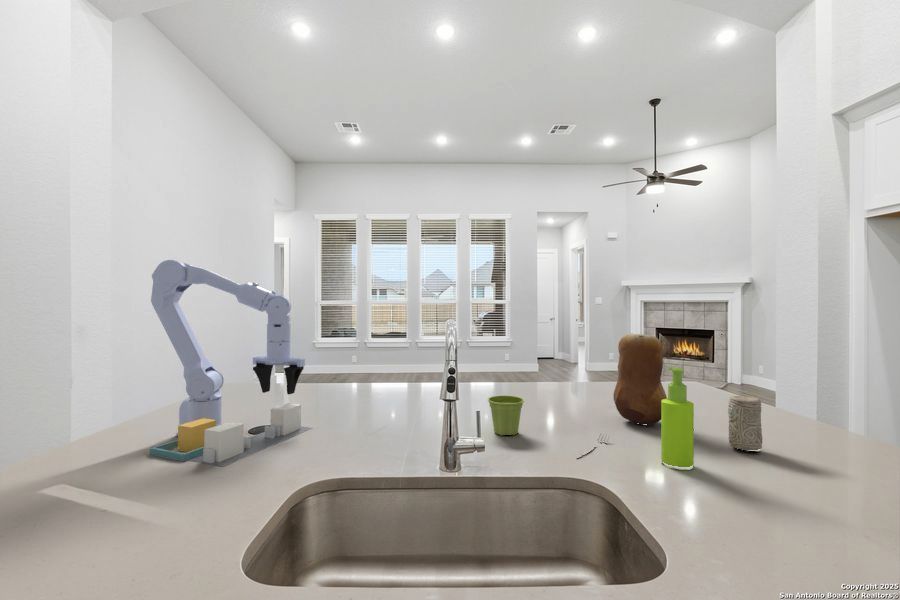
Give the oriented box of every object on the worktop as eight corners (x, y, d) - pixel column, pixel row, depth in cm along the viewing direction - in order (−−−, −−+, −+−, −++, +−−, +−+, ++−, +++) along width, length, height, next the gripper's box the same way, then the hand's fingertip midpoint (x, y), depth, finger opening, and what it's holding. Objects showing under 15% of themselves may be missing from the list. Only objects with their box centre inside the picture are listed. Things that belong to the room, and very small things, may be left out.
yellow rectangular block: (177, 453, 91) (178, 425, 91) (202, 444, 96) (203, 418, 96) (191, 455, 89) (191, 427, 89) (216, 446, 95) (216, 420, 95)
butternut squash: (670, 421, 120) (670, 333, 120) (664, 433, 109) (665, 336, 109) (618, 414, 127) (618, 331, 127) (608, 425, 116) (608, 333, 116)
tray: (149, 461, 88) (149, 448, 88) (208, 441, 101) (209, 429, 101) (184, 468, 85) (184, 454, 85) (240, 446, 98) (241, 434, 98)
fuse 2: (270, 433, 102) (270, 408, 102) (288, 426, 108) (288, 403, 108) (283, 435, 101) (284, 410, 101) (300, 428, 107) (300, 404, 107)
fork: (570, 459, 92) (570, 450, 92) (599, 441, 104) (599, 433, 104) (582, 462, 90) (582, 453, 90) (610, 443, 102) (610, 435, 102)
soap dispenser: (689, 460, 90) (689, 366, 90) (696, 472, 84) (696, 371, 84) (658, 456, 92) (658, 364, 92) (663, 468, 86) (663, 369, 86)
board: (188, 467, 85) (188, 448, 85) (284, 429, 110) (284, 414, 110) (222, 474, 82) (222, 453, 82) (312, 433, 107) (312, 418, 107)
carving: (764, 449, 97) (764, 397, 97) (759, 458, 92) (759, 402, 92) (731, 443, 102) (731, 393, 102) (725, 451, 96) (725, 398, 96)
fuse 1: (204, 459, 86) (204, 429, 86) (229, 449, 91) (229, 421, 91) (219, 462, 84) (219, 431, 84) (243, 452, 90) (243, 423, 90)
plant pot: (482, 436, 106) (482, 401, 106) (493, 425, 115) (493, 393, 115) (519, 440, 103) (519, 404, 103) (527, 429, 111) (527, 396, 111)
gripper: (244, 341, 110) (244, 394, 110) (293, 343, 106) (293, 397, 106) (263, 339, 117) (262, 388, 116) (309, 341, 113) (309, 391, 113)
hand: (278, 392), depth 112 cm, fingers open, 7 cm apart
